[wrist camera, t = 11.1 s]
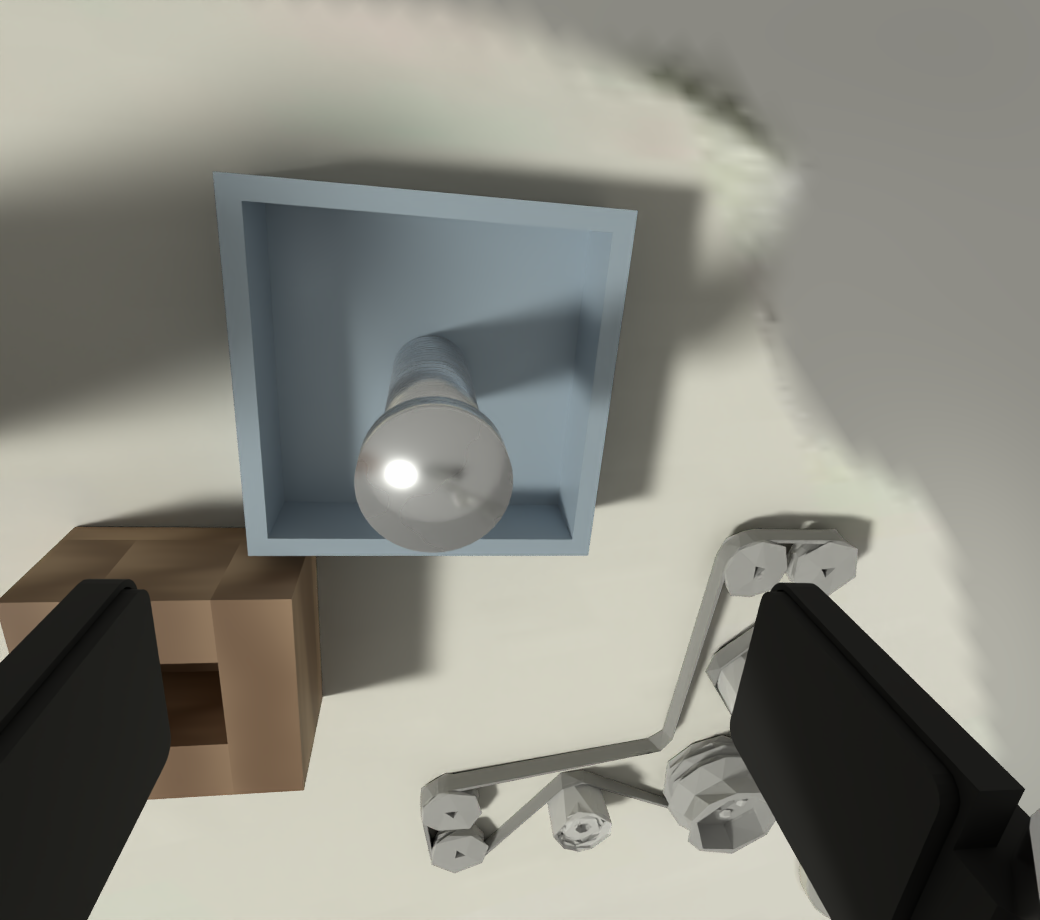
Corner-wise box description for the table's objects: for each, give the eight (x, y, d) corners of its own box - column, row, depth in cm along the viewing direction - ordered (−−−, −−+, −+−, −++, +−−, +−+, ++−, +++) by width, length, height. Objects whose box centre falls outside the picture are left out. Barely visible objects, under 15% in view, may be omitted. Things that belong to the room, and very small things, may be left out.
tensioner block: (314, 528, 26) (291, 599, 21) (322, 697, 29) (303, 790, 25) (75, 526, 24) (-5, 602, 20) (112, 705, 28) (51, 805, 23)
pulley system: (921, 630, 35) (784, 470, 28) (991, 697, 30) (849, 526, 24) (560, 888, 40) (379, 804, 34) (577, 974, 36) (375, 896, 30)
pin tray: (607, 208, 23) (638, 210, 19) (568, 513, 27) (588, 555, 24) (245, 175, 21) (212, 171, 17) (270, 510, 25) (248, 555, 22)
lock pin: (481, 326, 23) (519, 412, 14) (475, 419, 24) (506, 552, 15) (381, 321, 22) (352, 406, 13) (381, 416, 24) (355, 552, 15)
